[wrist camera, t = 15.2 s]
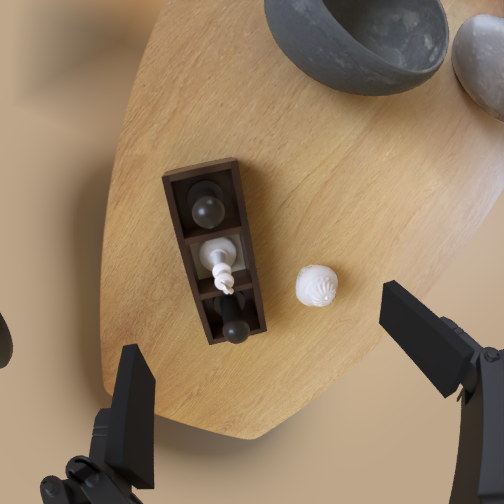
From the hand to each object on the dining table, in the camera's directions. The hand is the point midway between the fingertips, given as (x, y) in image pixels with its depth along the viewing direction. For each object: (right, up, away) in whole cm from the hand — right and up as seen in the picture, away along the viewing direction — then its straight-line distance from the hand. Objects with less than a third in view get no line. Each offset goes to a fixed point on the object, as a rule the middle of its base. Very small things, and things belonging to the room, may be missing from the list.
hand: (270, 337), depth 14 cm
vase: (+38, +38, +19) cm, 57 cm away
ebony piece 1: (-7, +11, +20) cm, 24 cm away
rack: (-5, +4, +24) cm, 25 cm away
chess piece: (-5, +4, +23) cm, 24 cm away
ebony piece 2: (-4, -2, +26) cm, 27 cm away
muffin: (+7, +1, +28) cm, 29 cm away
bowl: (+9, +33, +15) cm, 37 cm away
